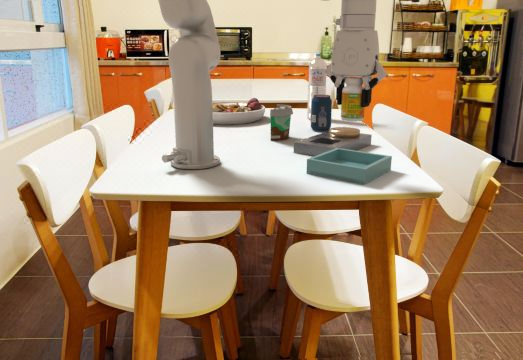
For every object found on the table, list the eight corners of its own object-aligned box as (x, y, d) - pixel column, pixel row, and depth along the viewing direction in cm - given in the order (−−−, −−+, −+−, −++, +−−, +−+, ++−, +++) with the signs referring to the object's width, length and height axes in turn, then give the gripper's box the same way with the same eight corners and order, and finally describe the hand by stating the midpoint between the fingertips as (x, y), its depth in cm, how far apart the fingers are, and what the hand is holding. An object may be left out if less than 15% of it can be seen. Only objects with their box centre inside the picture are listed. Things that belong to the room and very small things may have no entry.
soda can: (321, 127, 172) (322, 93, 169) (334, 130, 167) (336, 95, 163) (306, 129, 168) (307, 95, 165) (319, 133, 163) (320, 97, 159)
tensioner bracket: (334, 159, 128) (335, 142, 127) (293, 152, 136) (294, 136, 134) (370, 144, 146) (371, 129, 145) (332, 139, 153) (333, 125, 152)
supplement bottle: (345, 121, 110) (347, 78, 107) (337, 118, 115) (339, 76, 113) (367, 121, 111) (370, 78, 108) (358, 117, 116) (361, 76, 114)
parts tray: (364, 184, 107) (365, 169, 106) (306, 173, 115) (306, 159, 114) (390, 170, 118) (391, 156, 117) (336, 160, 127) (336, 147, 126)
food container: (289, 142, 148) (290, 110, 145) (269, 141, 149) (270, 109, 146) (294, 134, 160) (295, 104, 157) (276, 134, 161) (277, 104, 158)
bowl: (206, 129, 170) (205, 107, 168) (177, 117, 195) (176, 97, 193) (279, 122, 184) (279, 101, 182) (243, 111, 209) (243, 93, 207)
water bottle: (327, 118, 191) (330, 53, 183) (319, 121, 185) (322, 54, 178) (312, 117, 194) (314, 53, 187) (304, 119, 189) (306, 53, 181)
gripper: (315, 23, 109) (312, 104, 114) (387, 23, 99) (381, 110, 105) (331, 24, 115) (328, 100, 120) (401, 23, 105) (394, 106, 110)
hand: (353, 104), depth 112 cm, fingers closed on supplement bottle, 5 cm apart
